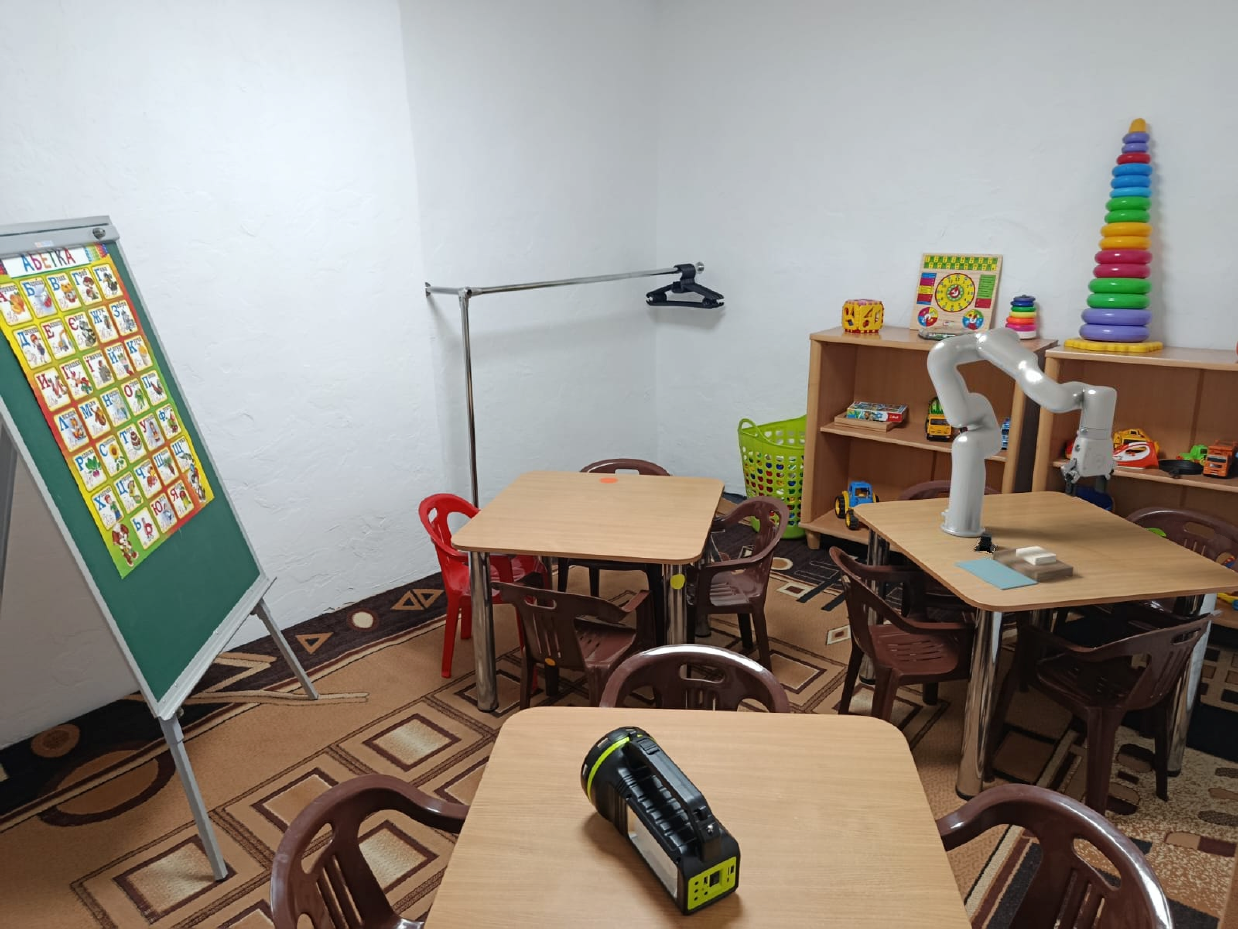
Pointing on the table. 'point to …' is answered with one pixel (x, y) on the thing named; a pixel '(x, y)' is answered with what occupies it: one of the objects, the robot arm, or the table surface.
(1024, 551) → the tile
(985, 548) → the black irregular piece
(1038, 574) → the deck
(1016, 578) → the mat
